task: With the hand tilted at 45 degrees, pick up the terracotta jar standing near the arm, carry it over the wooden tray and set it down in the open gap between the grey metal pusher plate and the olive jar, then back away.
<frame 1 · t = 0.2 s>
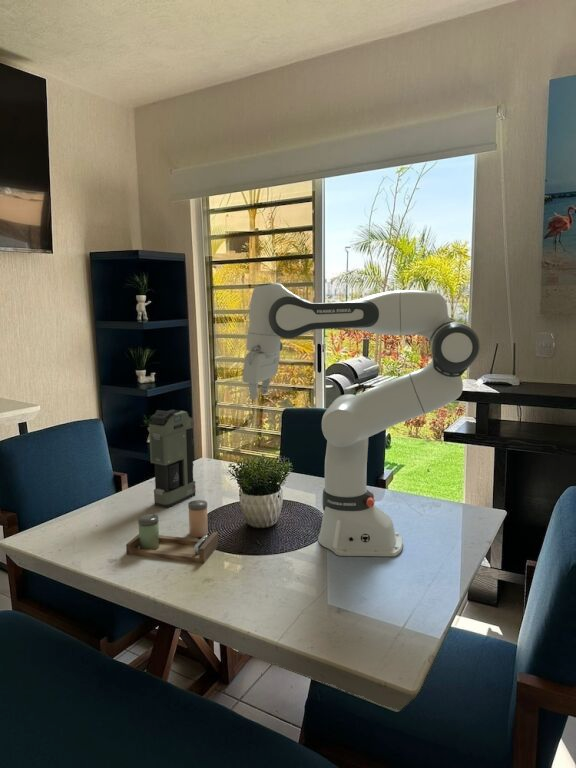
hand: (258, 396, 146), 39 cm above the table, tool pointing down, fingers open, 8 cm apart
device: (174, 500, 177), on the table
wooden tray: (173, 551, 141), on the table
terracotta jar: (198, 534, 151), on the table
olive jar: (149, 547, 142), resting on wooden tray
pusher: (203, 546, 139), point 2 cm above the table, slide at 0.0 cm
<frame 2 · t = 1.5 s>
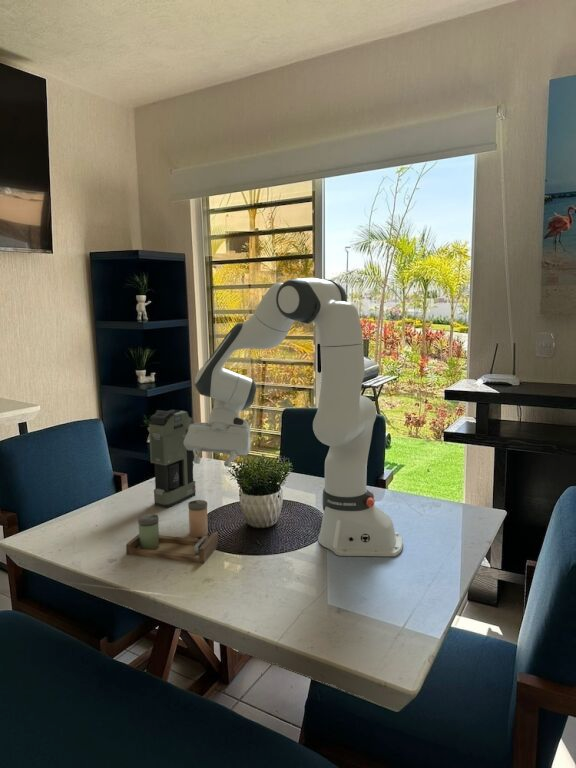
hand: (211, 464, 160), 17 cm above the table, tool tilted 45°, fingers open, 8 cm apart
nothing on the table moved.
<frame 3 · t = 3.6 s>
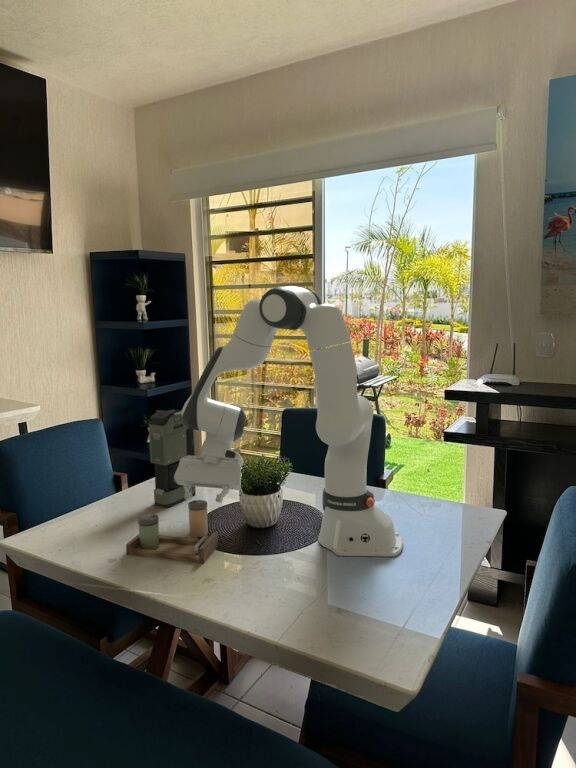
hand: (202, 500, 153), 8 cm above the table, tool tilted 45°, fingers open, 8 cm apart
nothing on the table moved.
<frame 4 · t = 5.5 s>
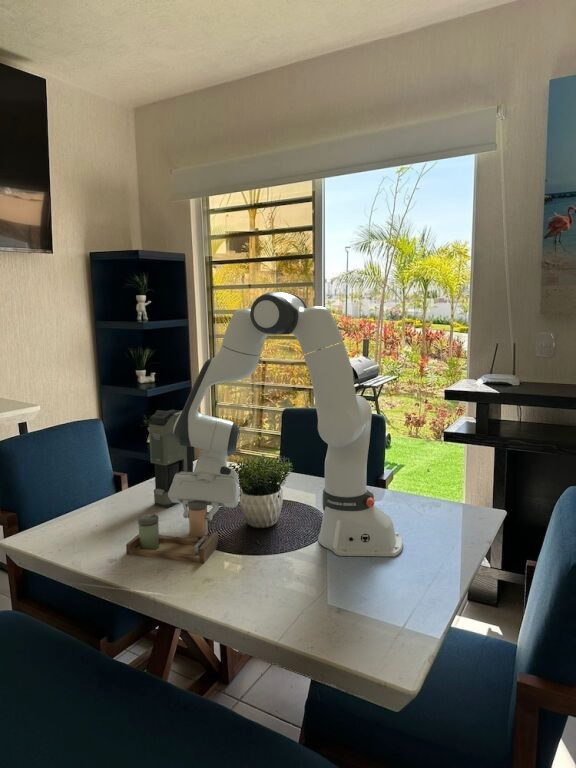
hand: (197, 518, 150), 5 cm above the table, tool tilted 45°, fingers closed on terracotta jar, 5 cm apart
terracotta jar: (198, 534, 151), on the table, touching gripper
everything else where it was.
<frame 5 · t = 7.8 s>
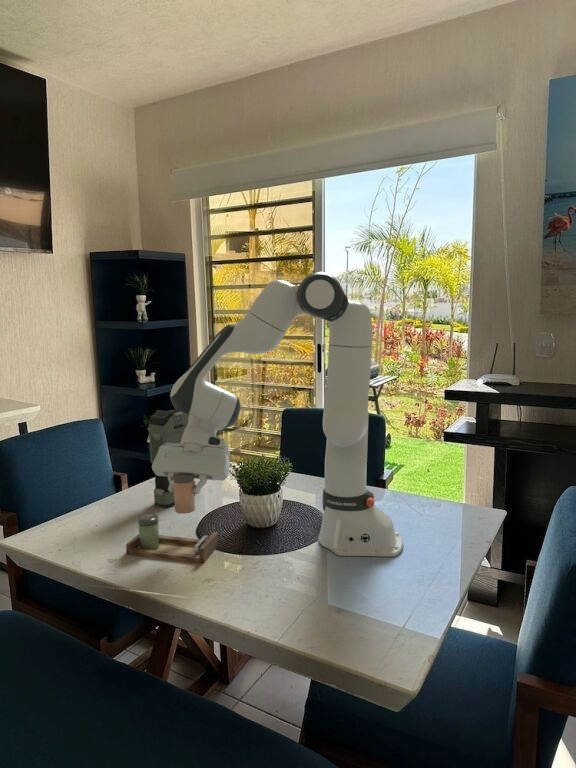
hand: (183, 492, 137), 16 cm above the table, tool tilted 45°, fingers closed on terracotta jar, 5 cm apart
terracotta jar: (184, 509, 139), point 11 cm above the table, touching gripper
everything else where it was.
when the fingers open (6 cm above the table, at t = 10.1 s): terracotta jar stays where it is, resting on wooden tray.
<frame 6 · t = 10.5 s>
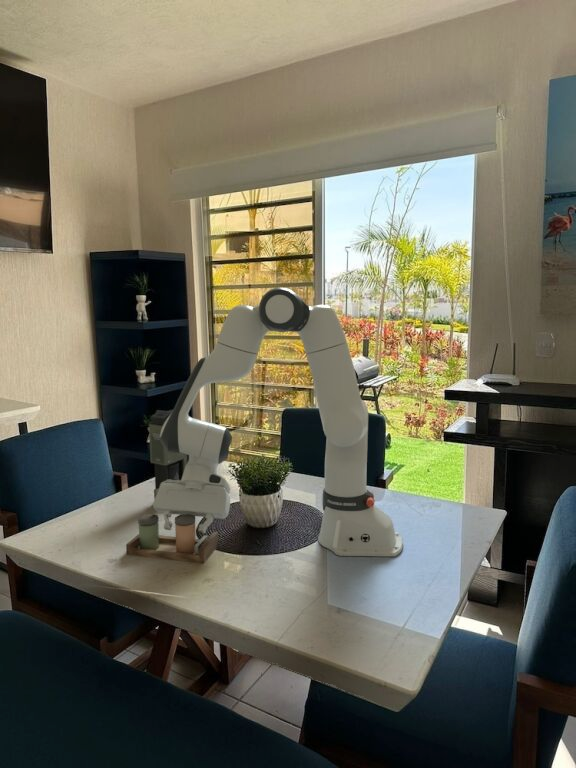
hand: (184, 530, 139), 6 cm above the table, tool tilted 45°, fingers open, 8 cm apart
terracotta jar: (186, 551, 140), resting on wooden tray
everything else where it was.
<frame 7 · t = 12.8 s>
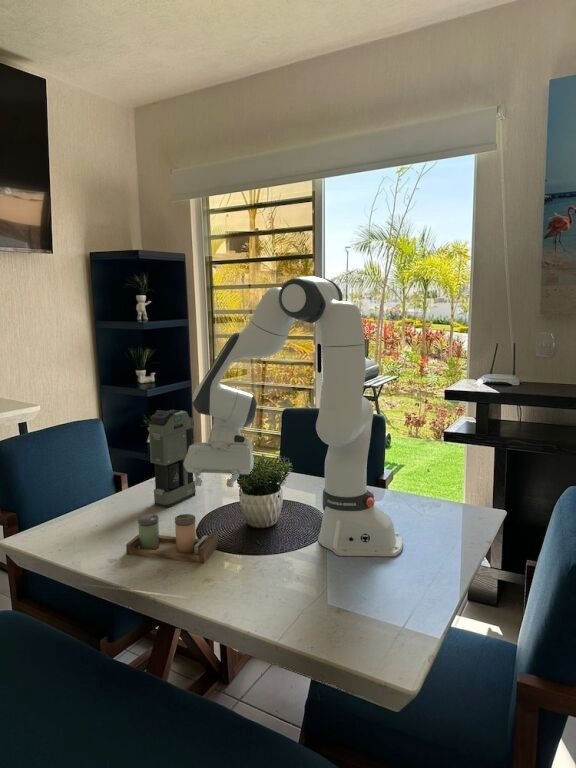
hand: (213, 485, 152), 13 cm above the table, tool tilted 45°, fingers open, 8 cm apart
nothing on the table moved.
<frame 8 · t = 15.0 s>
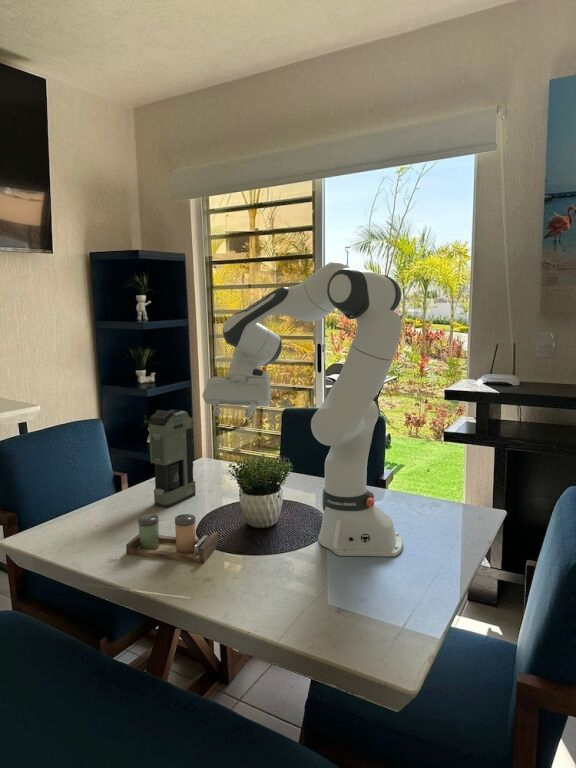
hand: (231, 415, 157), 31 cm above the table, tool tilted 45°, fingers open, 8 cm apart
nothing on the table moved.
at the end: terracotta jar inside the target area (0.6 cm from its centre), resting on wooden tray; terracotta jar tilted 0°; the gripper is holding nothing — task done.
